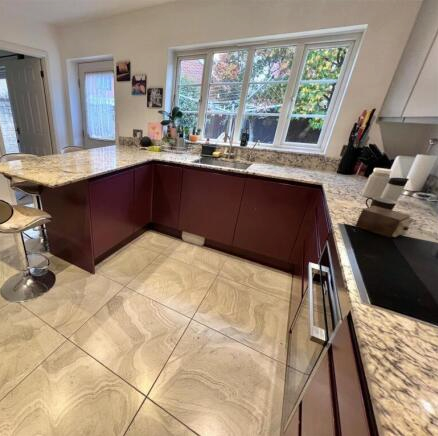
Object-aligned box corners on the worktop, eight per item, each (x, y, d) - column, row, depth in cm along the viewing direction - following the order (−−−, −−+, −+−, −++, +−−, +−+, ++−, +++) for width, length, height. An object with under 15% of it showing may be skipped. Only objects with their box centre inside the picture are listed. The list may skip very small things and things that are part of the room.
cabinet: (400, 232, 103) (410, 215, 100) (390, 238, 98) (400, 220, 95) (366, 221, 113) (374, 205, 110) (355, 226, 108) (362, 209, 104)
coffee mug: (390, 223, 112) (400, 204, 108) (368, 220, 115) (378, 201, 110) (378, 214, 122) (387, 197, 118) (358, 212, 125) (366, 194, 120)
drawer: (408, 233, 101) (416, 219, 98) (399, 238, 96) (407, 224, 93) (372, 222, 111) (378, 209, 108) (362, 226, 106) (368, 212, 103)
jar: (382, 200, 145) (396, 171, 137) (362, 197, 150) (374, 169, 142) (378, 196, 152) (391, 169, 145) (359, 193, 157) (371, 166, 150)
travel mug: (392, 218, 119) (412, 180, 110) (376, 216, 121) (395, 178, 112) (385, 213, 124) (404, 177, 116) (370, 211, 126) (388, 175, 118)
